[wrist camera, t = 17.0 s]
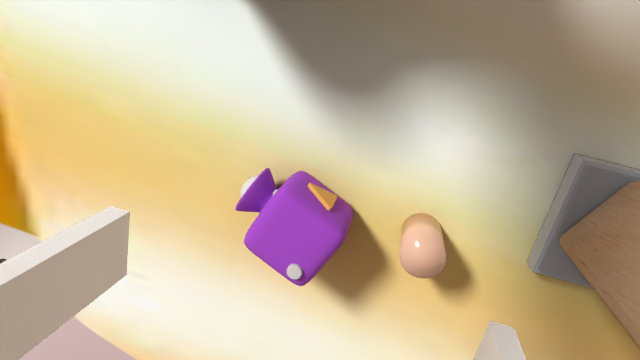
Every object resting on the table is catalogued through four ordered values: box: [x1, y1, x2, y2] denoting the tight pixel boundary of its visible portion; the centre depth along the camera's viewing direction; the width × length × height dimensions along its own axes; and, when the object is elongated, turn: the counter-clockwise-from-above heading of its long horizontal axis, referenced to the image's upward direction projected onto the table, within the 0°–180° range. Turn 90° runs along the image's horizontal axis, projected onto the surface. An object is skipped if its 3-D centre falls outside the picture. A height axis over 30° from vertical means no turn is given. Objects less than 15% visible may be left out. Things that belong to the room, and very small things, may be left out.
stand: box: [527, 154, 640, 289], centre depth 45 cm, size 14×14×3 cm
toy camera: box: [236, 168, 353, 286], centre depth 49 cm, size 11×14×10 cm
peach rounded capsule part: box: [400, 214, 447, 278], centre depth 48 cm, size 5×5×7 cm
